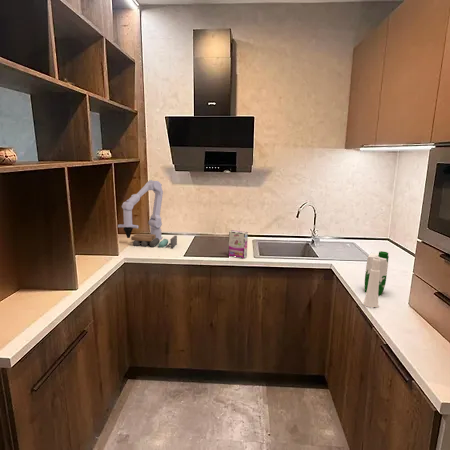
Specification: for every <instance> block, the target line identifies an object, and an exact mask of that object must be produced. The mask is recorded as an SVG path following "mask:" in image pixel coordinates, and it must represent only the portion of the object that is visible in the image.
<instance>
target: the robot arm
mask: <svg viewBox="0 0 450 450" xmlns="http://www.w3.org/2000/svg"><path fill="white" fill-rule="evenodd" d="M162 186H163V185H162V183H161V182H160V181H159V180H152V179H149V180H148V181H147V182H146V183H145V184H144V186H142V188H140V189H139V191H138V192H137V193H134V194H131V196H130V197H129V198H128V199H126V201H123V203H122V205H121V208H122V210H123V211H122V212H123V215H122V216H123V224H121V223H120V224H117V228H123V231H124V233H125V236H126V238H127V239H130V238H131V234H132V231H133V230H134V229H139V225H138V224H133V209H134V206H135V205H137V203H139V201H140V200H141V197H143V196H144V194H146V193H147V192H148V191H153V193H154V200H153V209H152V214H151V215H150V217H149V220H148V225H149V228H150V229H149V230H150V233H149V234H153V235H156V238H158V239H159V240H160V241H162V240H163V236H162V228H161V227H162V226H163V223H162V217H161V210H162V201H163V195H164V191H163V187H162Z"/></svg>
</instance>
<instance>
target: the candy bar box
mask: <svg viewBox="0 0 450 450" xmlns="http://www.w3.org/2000/svg"><path fill="white" fill-rule="evenodd" d="M248 236H249V233H248V232H247V231H242V230H233V229H232V230H229V231H228V257H231V256H236V257H235V258H237V257H242V258H241V259H243V258H244V259H246V258H247V257H248V239H249V238H248ZM246 256H247V257H246ZM245 257H246V258H245Z"/></svg>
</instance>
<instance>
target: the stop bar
mask: <svg viewBox="0 0 450 450" xmlns="http://www.w3.org/2000/svg"><path fill="white" fill-rule="evenodd" d="M169 242H170V246H169V247H170V249H174V248H175V247H176V246H177V245H178V235H173V236H172V237H171V238H170V241H169Z"/></svg>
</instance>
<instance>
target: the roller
mask: <svg viewBox="0 0 450 450" xmlns="http://www.w3.org/2000/svg"><path fill="white" fill-rule="evenodd" d="M168 244H169V239H167V238H164V239H161V240H160V242H159V243H158V246H159V247H158V248H162V249H163V248H164V247H166V246H167V245H168Z"/></svg>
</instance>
